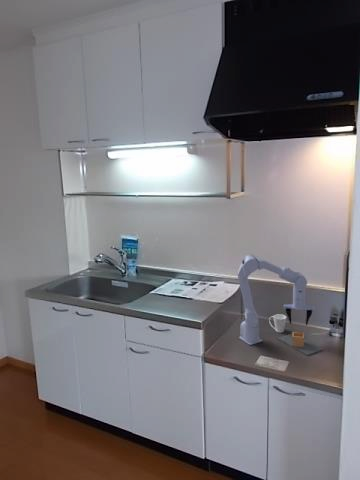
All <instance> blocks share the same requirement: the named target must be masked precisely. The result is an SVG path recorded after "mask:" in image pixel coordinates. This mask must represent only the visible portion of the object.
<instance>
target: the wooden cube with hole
mask: <svg viewBox="0 0 360 480" xmlns="http://www.w3.org/2000/svg"><path fill="white" fill-rule="evenodd" d="M304 340H305V332H300V331H292V346H297V347H304Z"/></svg>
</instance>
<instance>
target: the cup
mask: <svg viewBox="0 0 360 480" xmlns="http://www.w3.org/2000/svg"><path fill="white" fill-rule="evenodd" d="M271 318H273V323H274V326H273V324H272V322H271ZM287 318H288V315H285V314H280V313H277V314H274V315H271V316H270V317H269V318H268V323H269V325H270V326H271V328H273V330H275V332H277V333H284V332H285V327H286V322H287Z"/></svg>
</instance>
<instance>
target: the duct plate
mask: <svg viewBox="0 0 360 480" xmlns="http://www.w3.org/2000/svg"><path fill="white" fill-rule="evenodd" d="M277 340H279V341H280V342H282V343H283V344H286V345H288V346H289V347H291V348H293V349H294V350H295V351H297V352H299V353H301V354H303V355H305V356H306V357H309V356H312V355H314V354H316V353H319V352H322V351H323V350H324V348H322V347H320V346H318V345H316V344H315V343H312V342H310V341H308V340H306V339H304V347H297V346H292V333H288V334H285V335H282V336H279V337H277Z"/></svg>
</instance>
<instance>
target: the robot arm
mask: <svg viewBox="0 0 360 480" xmlns="http://www.w3.org/2000/svg"><path fill="white" fill-rule="evenodd" d="M257 270H258V271H261V270H267V271H269V272H272V273H274V274H277V275H278V277H279V278H280V279H282V280H283V281H286V282H288V283H290V284H293V287H292V288H293V289H292V303H290V304H283V310H285V313H286V316H287V318H288V322H289V324H292V310H294V311H306V316H305V318H306V319H305V325H306V326H308V323H309V320H310V319H311V316H312V314H313V313H314V312H315V306H312V305H311V306H310V305H306V286H307V285H308V281H307V278H306V277H305V276H304V275H303V273H301V272H298V271H294V270H293V269H291V268H290V267H289V266H283V267H279V266H277V265H276V264H274V263H271V262H269V261H268V260H265V259H263V258H261V257H259V256H255V255H253V254H247V255H246V256H244V257H243V258H242V260H241V263H240V265H239V268H238V270H237V277H238V283H239V288H240V292H241V296H242V301H243V306H244V317H245V320H244V321H242V322H241V323H240V327H239V329H240V331H239V332H240V333H239V334H240V336H239V337H238V338H239V339H240V340H241V341H243V342H245V343H246V344H248V345H249V346H251V345H255V344H257V343H261V342H263V339H261V338H260V333H259V332H260V331H259V330H260V327H259V326H260V324H259V322H260V320H259V317H258V314H257V311H256V309H255V305H254V302H253V297H252V293H251V287H250V283H249V276H250V275H251V274H252V273H254V272H256V271H257Z"/></svg>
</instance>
